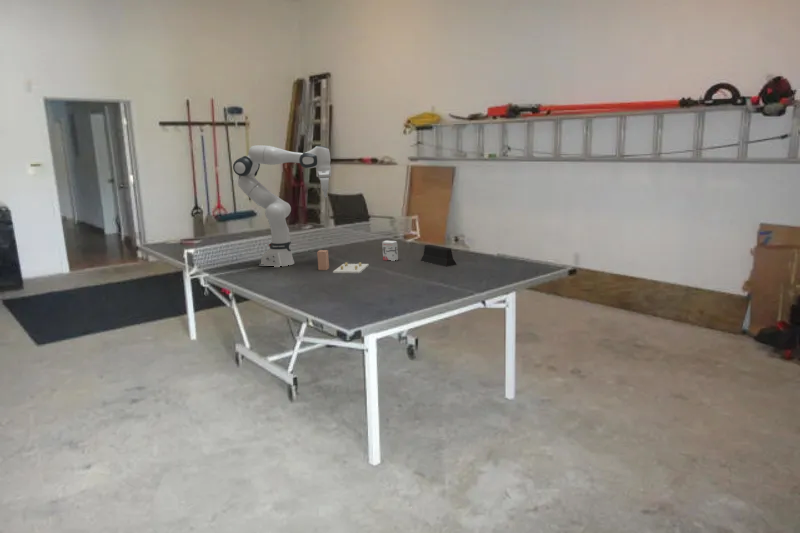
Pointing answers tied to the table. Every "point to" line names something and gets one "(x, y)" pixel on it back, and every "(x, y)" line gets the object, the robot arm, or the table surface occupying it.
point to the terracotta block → (323, 260)
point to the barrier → (438, 255)
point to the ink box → (390, 250)
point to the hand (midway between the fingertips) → (325, 196)
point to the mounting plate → (351, 268)
